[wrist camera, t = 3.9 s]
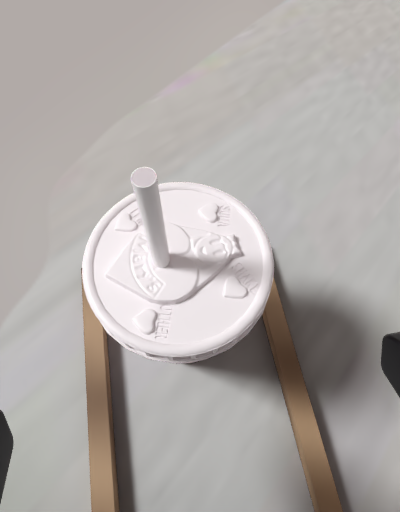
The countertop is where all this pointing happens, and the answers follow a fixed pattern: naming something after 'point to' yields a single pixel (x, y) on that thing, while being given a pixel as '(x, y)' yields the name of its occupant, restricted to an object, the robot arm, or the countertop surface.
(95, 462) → the guide track
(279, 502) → the countertop surface
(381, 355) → the robot arm
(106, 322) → the smoothie
